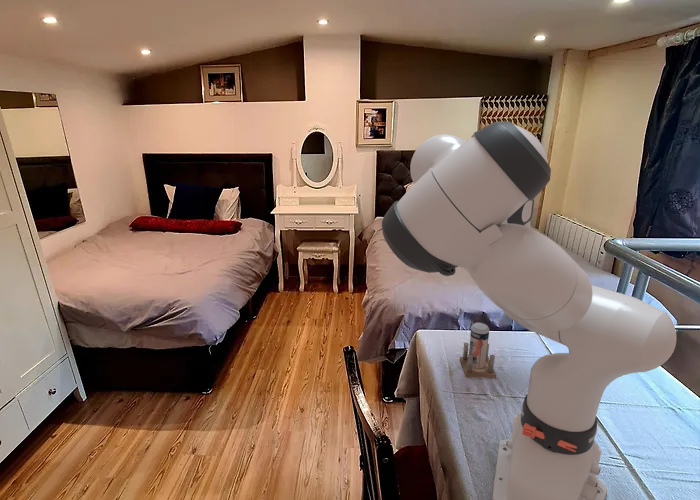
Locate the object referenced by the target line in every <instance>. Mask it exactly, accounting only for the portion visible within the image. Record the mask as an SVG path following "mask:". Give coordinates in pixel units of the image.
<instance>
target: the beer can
mask: <svg viewBox="0 0 700 500" xmlns="http://www.w3.org/2000/svg"><path fill="white" fill-rule="evenodd" d="M489 336H490V328H489V326H488V324H486V323H483V322H474V323H472V325H471V326H470V335H469V338H470V339H469V346H468V355H469V354H472V355H473V363H472V367H474V368H483V367H485V366H486V357H487V348H488V344H489Z"/></svg>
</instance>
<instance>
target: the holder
mask: <svg viewBox="0 0 700 500" xmlns="http://www.w3.org/2000/svg"><path fill="white" fill-rule="evenodd" d="M469 346H470V343H468V342H464V343H463V352H462V356H459V362H460V364H461V367H462V371H463V375H464V377H465V378H478V379H481V378H483V379H486V378H487V379H497V377H498V376H497V373H496V371H495V367H494V366H495V360H496V359H495V358H496V356H495V354H489V349H490V343H488V348H487V357H486V366H485V367H483V368H474V367H472V363H473V355H472V354H469Z"/></svg>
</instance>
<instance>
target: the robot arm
mask: <svg viewBox="0 0 700 500" xmlns="http://www.w3.org/2000/svg"><path fill="white" fill-rule="evenodd" d="M409 172H410V178H411V180H412V182H413V185H412V186H411V187H410V188H409V189H408V190H407V191H406V192H405V194H404V195H403V196H402V197H401V198H400V199H399V200H395V201H394V202H393V203H392V205H391V206H390V207H389V208H388V210H387V211H386V212H385V214H384V216H383V217H382V220H381V230H382V235H383V238H384V240H385V242H386V244H387V246H388V247H389V249H390V250H391V251H392V253H393V254H394V256H396V258H397V259H398V260H399V261H401V262H402V263H403V264H404V265H406V266H407V267H409V268H411V269H413V270H416V271H420V272H424V273H427V274H428V273H429V274H430V273H431V274H432V273H433V274H435V273H439V274H441V275H442V276H444V277H449V276H454V275H455V274H456V268H458V267H460V268H462V269H464V270H465V271H466V272H467V273H468V274H469V276H470V277H471V279H472V280H473V282H474V284H475V285H476V286H477V287H478V289H479V290H480V291H481V292H482V293H483V294H484V295H485V297H487V298H488V300H490V301H491V302H492V303H493V304H495V305H496V306H497V307H498V308H499V309H500V310H502V311H503V313H504V315H505V316H507V318H509V319H511V320H513V321H514V322H515V323H517V324H519V325H520V326H522V327H523V328H525V329H527V330H528V331H530V332H533V333H534V334H537V335H539V336H542V337H545V338H547V339H549V340H551V341H553V342H556V343H558V344H561V345H563V346H565V347H566V348H567V349H568V353H567V352H557V353H556V352H555V353H549V354H545V355H543V356H540V357H539V358H537V359H536V360H535V362H534V363H533V365H532V367H531V369H530V375H529V379H528V388H527V393H526V394H525V396H524V400H523V402H522V404H521V405H522V407H521V413H518V414H516V415H514V417H513V425H512V433H511V439H501V440H500V441H499V444H498V448H497V454H496V455H497V456H496V457H497V458H496V465H495V472H494V480H493V489H492V497H491V500H606V497H607V494H608V487H607V486H606V484H605V483H604V482H603V481H602V480H601V479H600V478H598V476H599V475H600V473H601V469H602V468H601V467H600V461H601V456H602V449H601V448H600V446H599V445H598V444H597V441H595V439H596V436H597V432H598V417H597V413H598V411H599V410H598V409H599V407H600V404H601V401H602V397H603V394H604V392H605V390H606V389H607V387H609V385H610V384H611V383H613V382H614V380H617V379H619V378H620V377H623V376H626V375H631V374H638V373H646V372H649V371H653V370H655V369H657V368H659V367H661V366H662V365H664V364H665V363H666V362H667V361H668V360H669V359H670V357H672V354H673V353H674V351H675V349H676V345H677V331H676V327H675V324H674V322H673V320H672V318H671V317H670V315H669V314H668V313H667V312H665V311H664V310H662V309H661V308H658V307H656V306H654V305H652V304H650V303H648V302H645V301H643V300H641V299H639V298H637V297H635V296H631V295H629V294H624V293H621V292H618V291H615V290H610V289H608V288H607V289H606V288H603V287H600V286H596V285H593V284H592V283H591V282H592V281H591V279H590V278H589V275H587V273H586V271H585V270H584V269H583V268H582V267H580V266H581V265H579V264H578V263H577V262H576V261H575V260H574V259H573V258H572V257H571V255H569V254H568V252H567V251H566V250H564V249H563V248H562V246H560V245H558V244H557V243H556V242H555V241H553V239H551V238H549V237H548V236H546V235H544V233H542V232H539V231H537V230H535V229H534V228H531V225H532V224H531V219H532V217H533V213H534V203H535V200H534V199H535V198H536V197H537V196H538V195H539V194H540V193H541V192H542V191H543V190H544V188H545V187H546V186H547V185H548V184H549V182H551V175H552V174H551V172H552V168H551V166H550V165H549V161H548V156H547V153H546V150H545V148H544V146H543V145H542V143H541V142H540V141H539V139H538V138H537V137H536V136H535V135H534V134H533V133H532V132H530V131H529V130H527V129H526V128H524V127H521V126H519V125H516V124H513V122H511V121H505V120H504V121H494V122H492V123H490V124H488V125H486V126H484V127H482V128H480V129H479V130H476V131H474V133H473V135H471V136H470V138H469V139H467V140H466V139H464V138H462V137H459V136H457V135H453V134H449V133H448V134H446V133H443V134H436V135H434V136H430V137H429V138H426V139H425V140H424V141H422V142H421V144H420V145H419V146H418V147H417V148H416V149H415V151H414V153H413V156H412V158H411V161H410V170H409Z"/></svg>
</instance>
